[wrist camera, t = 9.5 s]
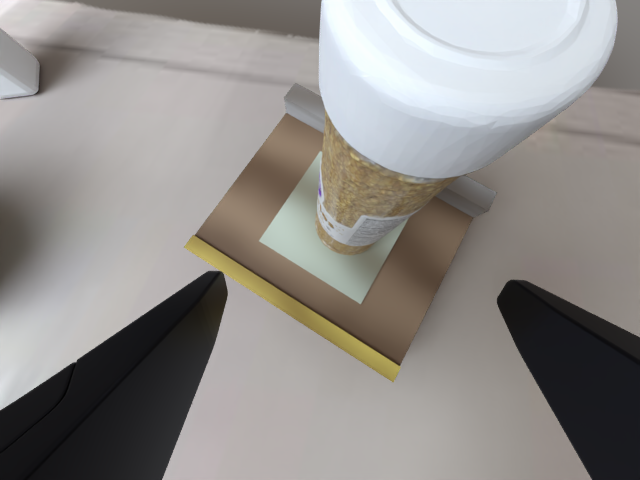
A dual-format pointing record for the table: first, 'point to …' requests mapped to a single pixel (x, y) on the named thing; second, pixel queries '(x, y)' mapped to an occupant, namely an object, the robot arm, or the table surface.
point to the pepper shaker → (17, 69)
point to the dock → (324, 264)
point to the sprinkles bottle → (439, 96)
